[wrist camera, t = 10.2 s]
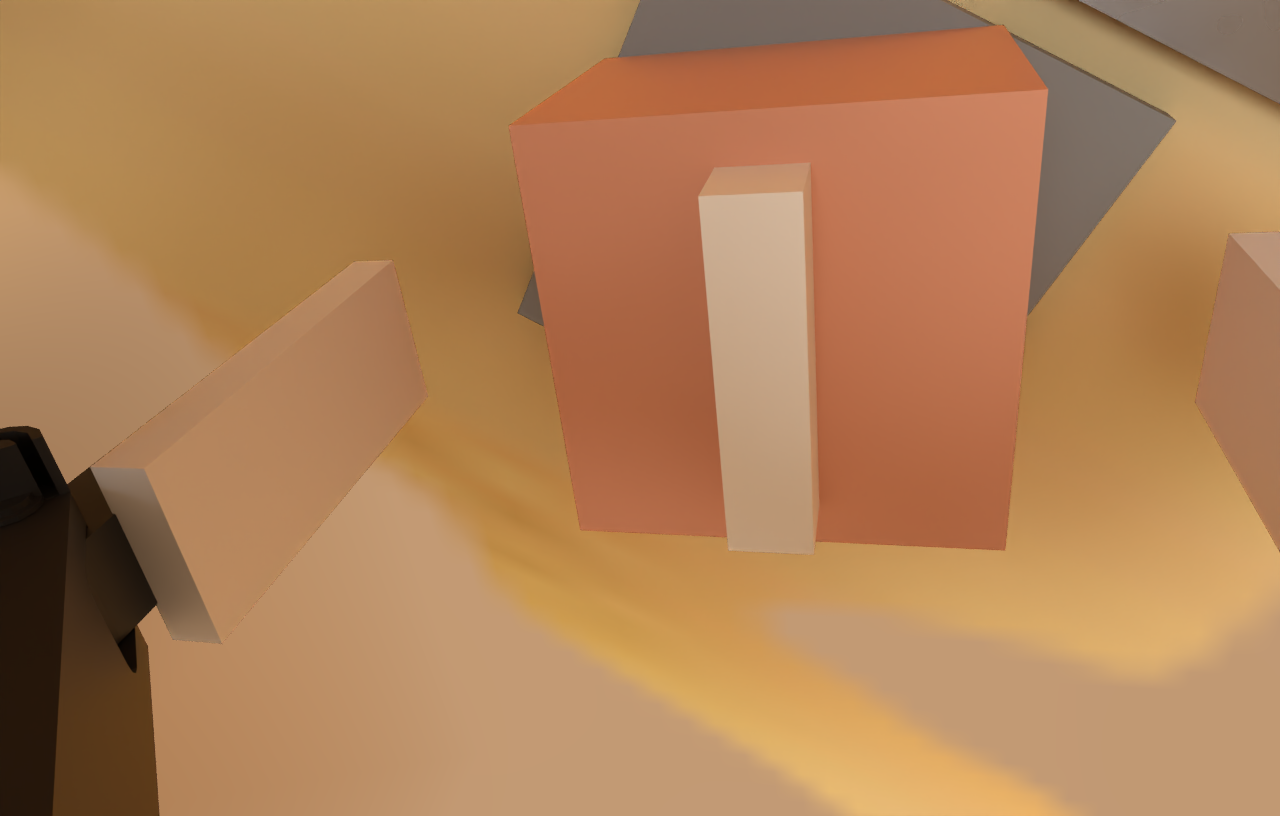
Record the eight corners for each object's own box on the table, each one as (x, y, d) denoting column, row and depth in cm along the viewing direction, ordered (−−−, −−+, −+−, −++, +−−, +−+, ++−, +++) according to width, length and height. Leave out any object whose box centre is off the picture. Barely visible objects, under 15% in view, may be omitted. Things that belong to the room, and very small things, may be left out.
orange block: (604, 58, 19) (474, 150, 13) (1003, 25, 17) (1065, 113, 11) (645, 388, 23) (558, 577, 17) (978, 390, 21) (1014, 605, 15)
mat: (525, 303, 23) (517, 313, 22) (697, -129, 18) (691, -128, 17) (888, 484, 23) (888, 498, 23) (1168, 113, 18) (1176, 120, 17)
